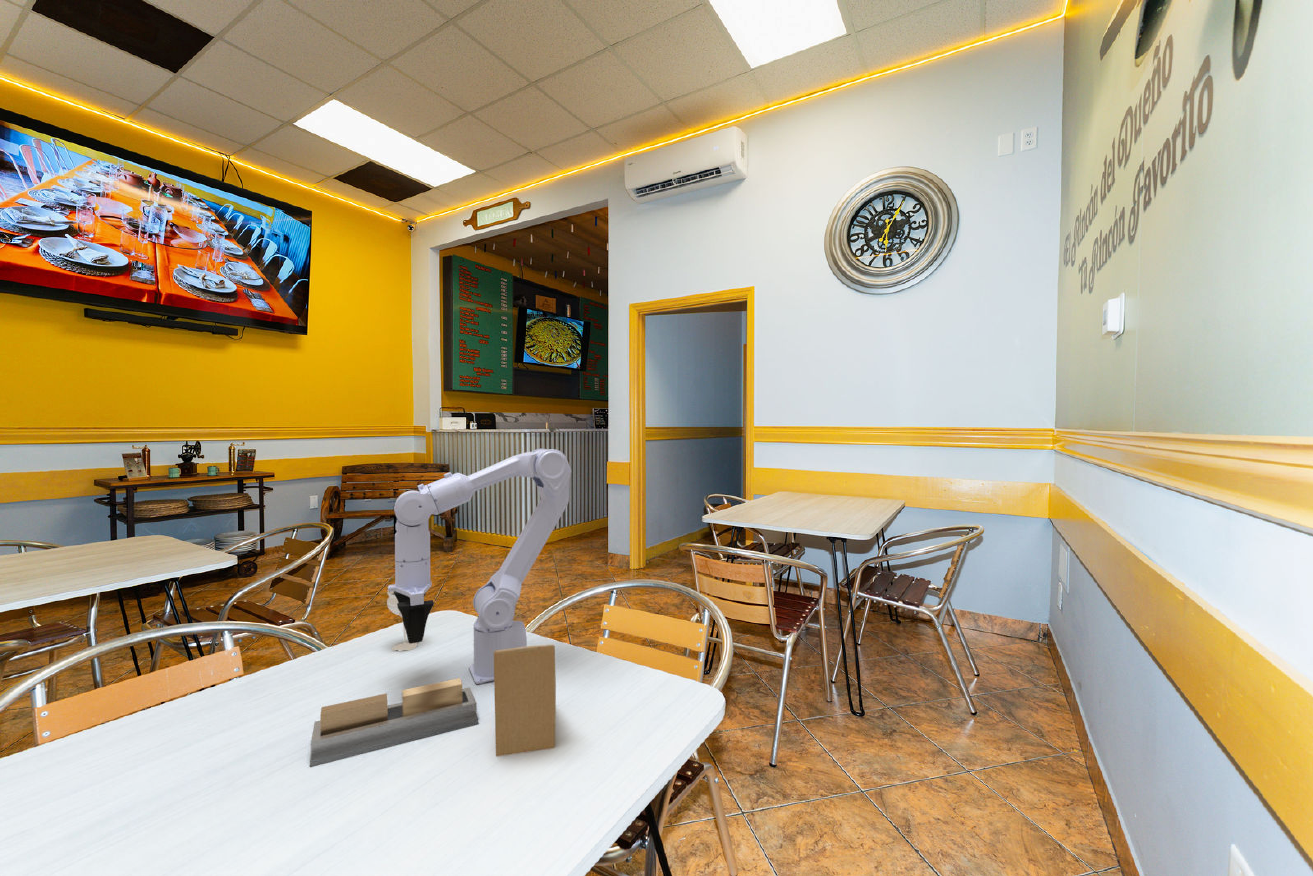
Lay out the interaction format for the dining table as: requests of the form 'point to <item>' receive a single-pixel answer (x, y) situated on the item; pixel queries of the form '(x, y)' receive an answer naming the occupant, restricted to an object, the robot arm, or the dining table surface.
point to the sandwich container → (524, 699)
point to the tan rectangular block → (431, 697)
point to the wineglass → (393, 608)
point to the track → (381, 726)
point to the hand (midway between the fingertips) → (413, 635)
